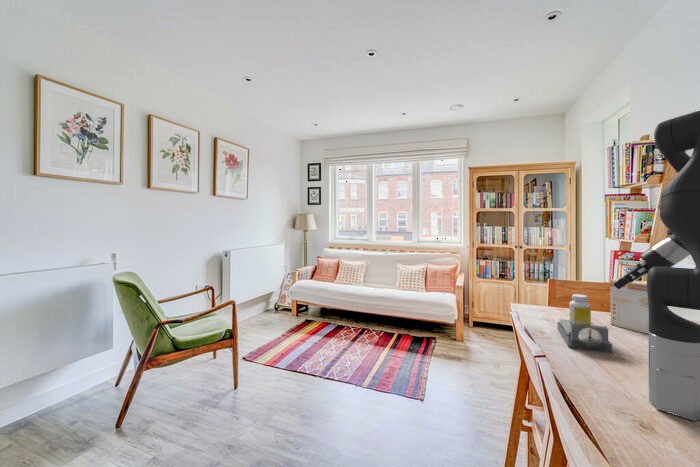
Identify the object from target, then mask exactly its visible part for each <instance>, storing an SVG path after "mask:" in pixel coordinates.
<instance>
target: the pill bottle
mask: <svg viewBox="0 0 700 467" xmlns="http://www.w3.org/2000/svg"><path fill="white" fill-rule="evenodd" d="M571 299H572V300H571V301H570V302H569V305H568V306H569V308H568V309H569V311H568V312H569V320H570V323H571V324H582V325H591V322H592V318H591V316H592V314H591V313H592V309H591V308H592V307H591V306H592V305H591V304H590V303H589V302H588V300H589V299H588V295H586V294H578V293H576V294H575V293H573V294H572V296H571Z"/></svg>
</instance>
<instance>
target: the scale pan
mask: <svg viewBox="0 0 700 467" xmlns="http://www.w3.org/2000/svg"><path fill="white" fill-rule="evenodd" d="M558 322H560V324H561V325H562V327H563V328H564V330H565V331H566V333H567V334H568V336H570V319H562V318H559V319H558ZM591 325H592V326H596V324H594V323H593V321H591Z"/></svg>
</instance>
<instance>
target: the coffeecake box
mask: <svg viewBox="0 0 700 467" xmlns="http://www.w3.org/2000/svg"><path fill="white" fill-rule="evenodd" d="M619 279H621V277H620V278H611V279H610V280H609V282H610V284H609V285H610V286H609V287H610V288H609V289H610V292H609V293H610V325H611V326H615V327H620V328H623V329H627V330H631V331H636V332H639V333H643V334H647V335H649V307H648V294H647V281H646V280H645V281H643V280H634V281H633V282H631V283H628V284H626V285H625V286H623V287H622V288H620V289H617V288H616V287H615V286H614V285H613V284H614V283H615V282H617V281H618V280H619Z"/></svg>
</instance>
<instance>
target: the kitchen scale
mask: <svg viewBox="0 0 700 467" xmlns="http://www.w3.org/2000/svg"><path fill="white" fill-rule="evenodd" d="M556 330H557V331H558V332H559V334H560V337H562V339H563V341H564V342H565V344H566V346H567V347H568V348H570V349H577V350H586V351H593V352H601V353H608V354H609V353H611V354H613V344H612V343H611V341H610V340H609V329H608V327H607V326H601V325H600V326H599V325H595V326H592V325H582V324H571V323H570V336H568V334H567V333H566V331H565V330H564V328H563V327H562V325H561V324H560V322H559V321H557V328H556Z"/></svg>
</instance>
